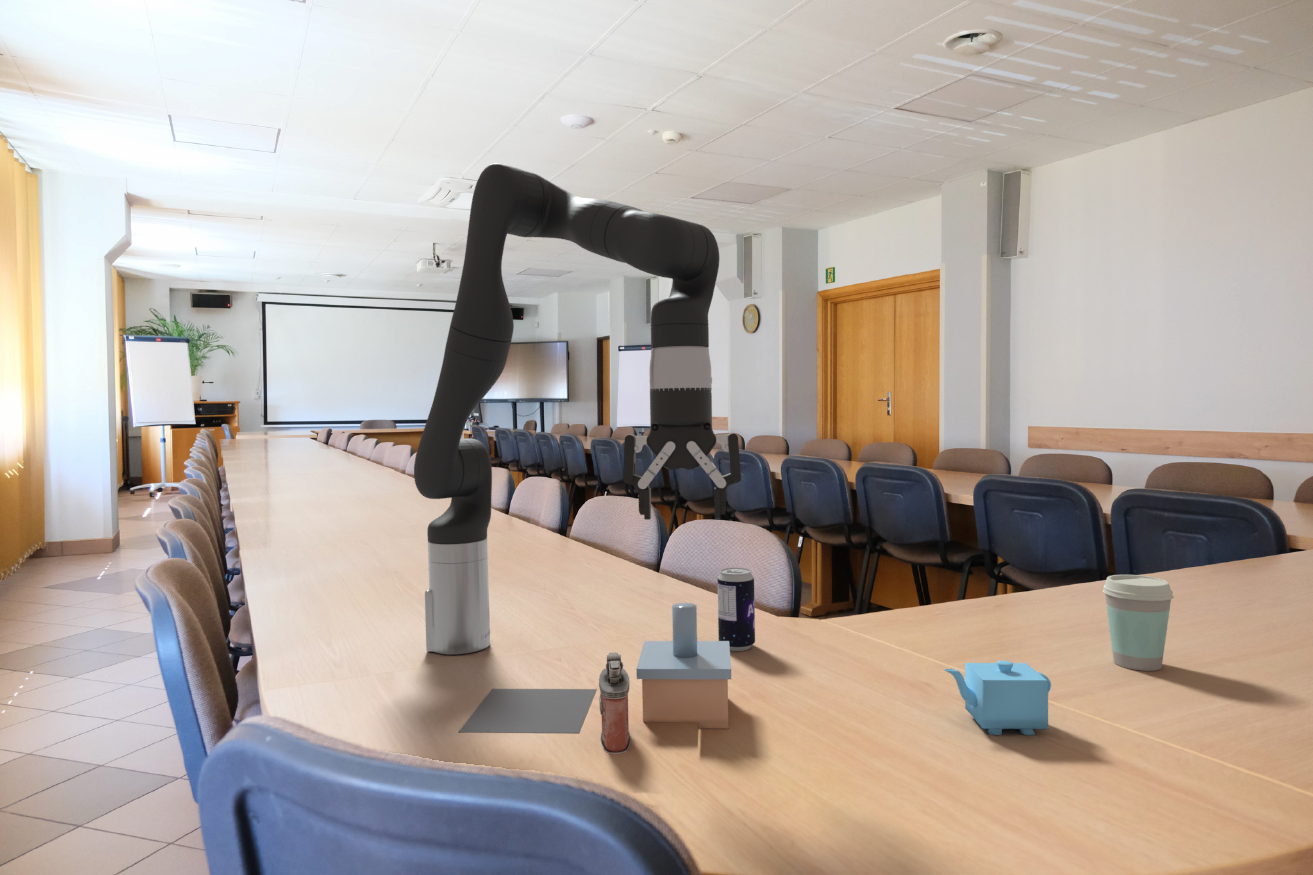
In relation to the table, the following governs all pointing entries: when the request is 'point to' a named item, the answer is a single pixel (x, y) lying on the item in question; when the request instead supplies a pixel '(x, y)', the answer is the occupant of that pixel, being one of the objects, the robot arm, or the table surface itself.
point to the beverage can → (736, 608)
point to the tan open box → (686, 701)
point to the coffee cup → (1138, 620)
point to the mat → (531, 711)
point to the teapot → (1005, 696)
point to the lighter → (614, 706)
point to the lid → (684, 652)
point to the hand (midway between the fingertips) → (682, 518)
